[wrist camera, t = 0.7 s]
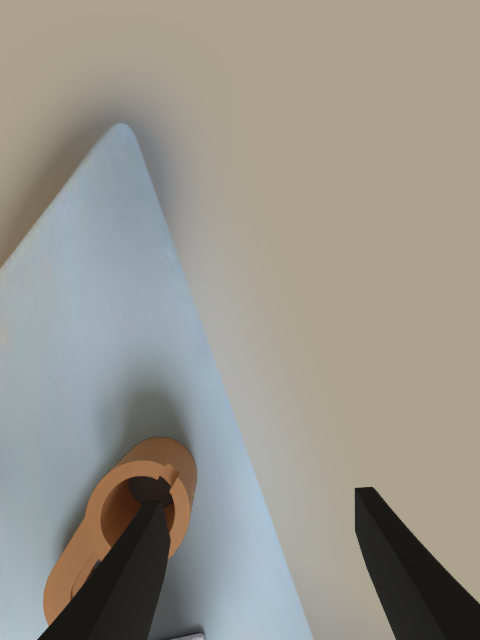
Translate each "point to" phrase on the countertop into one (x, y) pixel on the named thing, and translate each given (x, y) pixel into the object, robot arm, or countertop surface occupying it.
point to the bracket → (122, 515)
